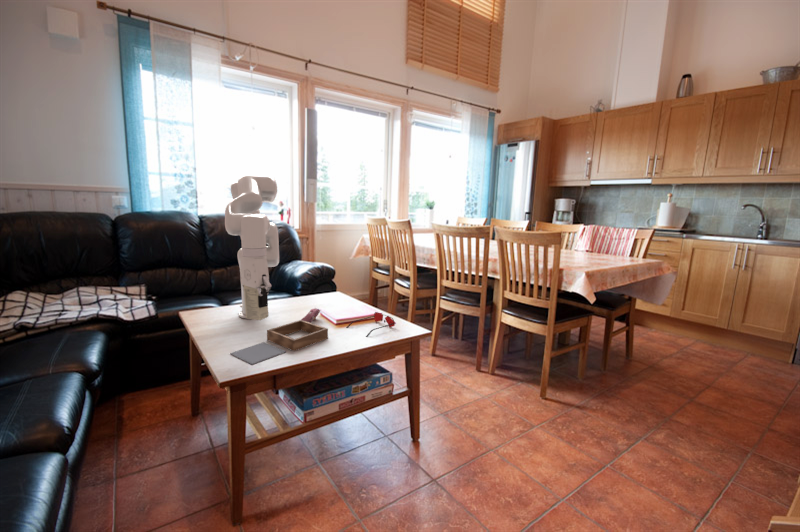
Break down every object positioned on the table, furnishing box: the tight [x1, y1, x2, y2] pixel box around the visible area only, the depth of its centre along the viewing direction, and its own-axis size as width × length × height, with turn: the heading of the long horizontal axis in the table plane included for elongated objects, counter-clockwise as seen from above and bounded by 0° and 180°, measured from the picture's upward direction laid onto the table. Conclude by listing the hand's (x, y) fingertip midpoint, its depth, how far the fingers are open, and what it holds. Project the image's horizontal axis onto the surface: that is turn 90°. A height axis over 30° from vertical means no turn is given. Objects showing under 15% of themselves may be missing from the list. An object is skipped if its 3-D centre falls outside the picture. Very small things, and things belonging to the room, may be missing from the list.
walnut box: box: [266, 319, 329, 352], centre depth 140 cm, size 16×16×4 cm
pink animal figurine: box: [300, 307, 321, 323], centre depth 160 cm, size 10×5×7 cm, turn 169°
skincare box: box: [244, 284, 269, 321], centre depth 123 cm, size 6×4×12 cm
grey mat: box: [230, 341, 286, 366], centre depth 126 cm, size 13×13×1 cm
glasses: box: [346, 311, 397, 338], centre depth 155 cm, size 14×16×5 cm
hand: (256, 304), depth 123 cm, fingers closed on skincare box, 7 cm apart
